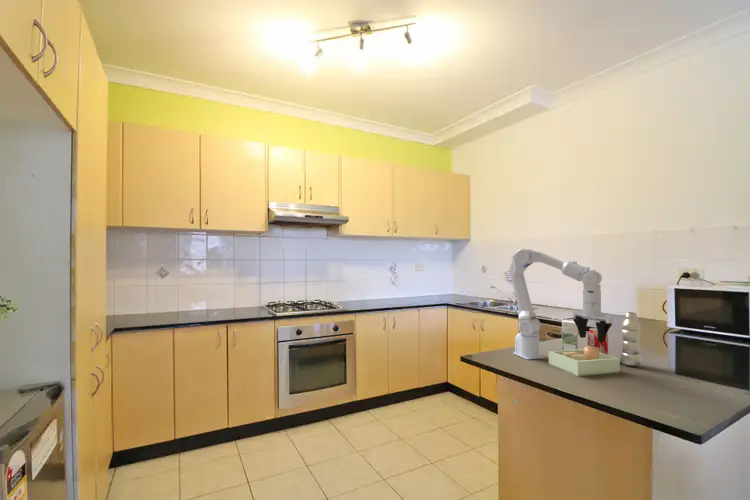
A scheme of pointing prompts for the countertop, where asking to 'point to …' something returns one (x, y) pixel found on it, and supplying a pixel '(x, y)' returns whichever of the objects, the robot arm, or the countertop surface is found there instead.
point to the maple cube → (574, 355)
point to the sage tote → (584, 363)
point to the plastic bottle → (630, 340)
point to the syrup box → (569, 335)
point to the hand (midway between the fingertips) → (591, 339)
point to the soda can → (594, 341)
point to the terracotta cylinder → (591, 352)
